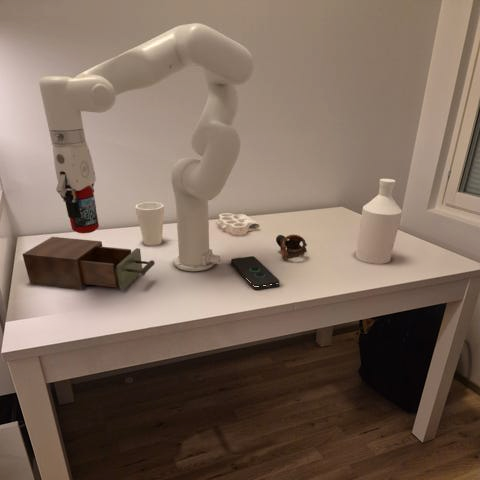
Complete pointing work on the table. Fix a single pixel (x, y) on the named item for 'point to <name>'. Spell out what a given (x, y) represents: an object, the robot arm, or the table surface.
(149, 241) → the foam cup
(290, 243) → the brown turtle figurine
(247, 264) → the black flat slab
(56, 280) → the cabinet
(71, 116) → the robot arm
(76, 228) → the beverage can
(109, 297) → the table surface
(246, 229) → the white multi well tray
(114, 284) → the drawer
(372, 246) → the bottle
